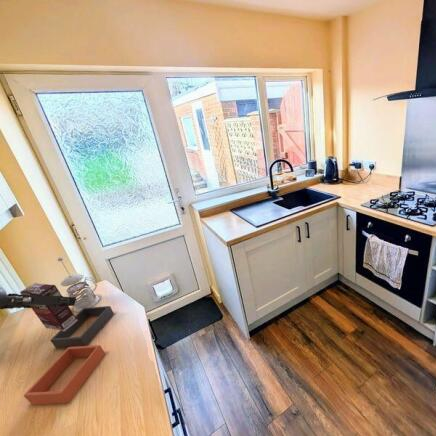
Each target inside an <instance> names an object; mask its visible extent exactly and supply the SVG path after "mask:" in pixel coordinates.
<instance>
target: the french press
mask: <svg viewBox="0 0 436 436" xmlns="http://www.w3.org/2000/svg"><path fill="white" fill-rule="evenodd" d="M64 259H65V258H64V257H62V256H60V257H58V258H57V259H56V260H57V261H58V262H61V263H62V265H63V267H64V268H65V270H66V272H67V274H68V275H69V276H67V277H64V279H63V280H62V281H60V286H61V287H67V289H66V292H67V297H76V301H75V305H74V306H73V311H74V312H77V313H79V312H80V311H81V310H82V309H83V308H89V307H94V306H95V305H96V304H97V303H99V301H100V297H99V296H98V295H96V294H95V291H96V289H97V287H98V283H97V280H95V279H94V278H93V277H88V276H86V277H84V273H74V274H70V272H69V270H68V269H67V267H66V266H65V264H64V262H63V261H64ZM82 279H84V280H83V281H82ZM87 281H91V282H92V283H93V284H94V286H95V287H94V288H93V289H92V288H91V286H90V284H89V283H87Z"/></svg>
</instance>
